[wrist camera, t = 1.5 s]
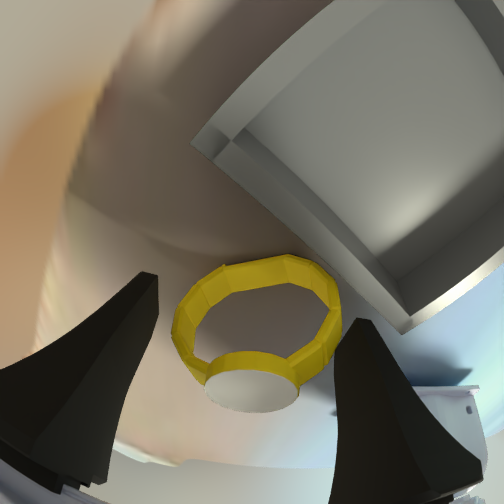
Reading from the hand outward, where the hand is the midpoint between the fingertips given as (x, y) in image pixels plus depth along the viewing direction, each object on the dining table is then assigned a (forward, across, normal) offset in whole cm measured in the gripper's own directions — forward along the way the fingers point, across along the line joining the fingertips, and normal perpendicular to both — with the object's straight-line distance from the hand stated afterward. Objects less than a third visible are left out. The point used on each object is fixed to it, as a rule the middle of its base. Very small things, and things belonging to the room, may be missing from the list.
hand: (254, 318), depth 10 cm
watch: (+3, 0, 0) cm, 3 cm away
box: (+3, -4, -7) cm, 9 cm away
